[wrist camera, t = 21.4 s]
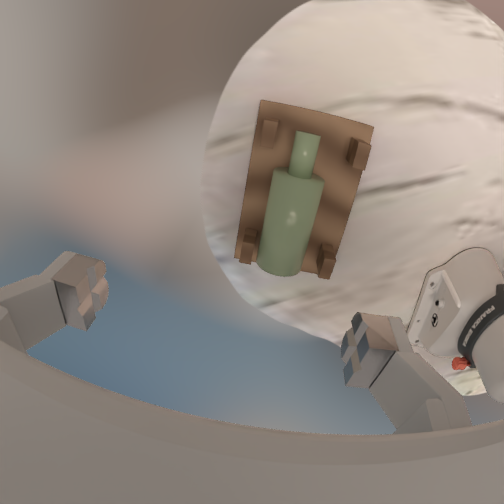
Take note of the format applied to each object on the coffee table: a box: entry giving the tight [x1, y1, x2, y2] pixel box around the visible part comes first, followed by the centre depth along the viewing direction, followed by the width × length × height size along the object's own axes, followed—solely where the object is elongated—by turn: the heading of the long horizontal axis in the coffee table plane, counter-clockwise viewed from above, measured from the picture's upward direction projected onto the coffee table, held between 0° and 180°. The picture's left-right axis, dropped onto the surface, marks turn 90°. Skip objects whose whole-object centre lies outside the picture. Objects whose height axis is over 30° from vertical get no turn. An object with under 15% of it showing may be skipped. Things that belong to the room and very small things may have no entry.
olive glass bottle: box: [256, 130, 325, 277], centre depth 35 cm, size 6×6×17 cm
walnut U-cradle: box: [234, 100, 374, 279], centre depth 37 cm, size 22×14×5 cm, turn 170°
